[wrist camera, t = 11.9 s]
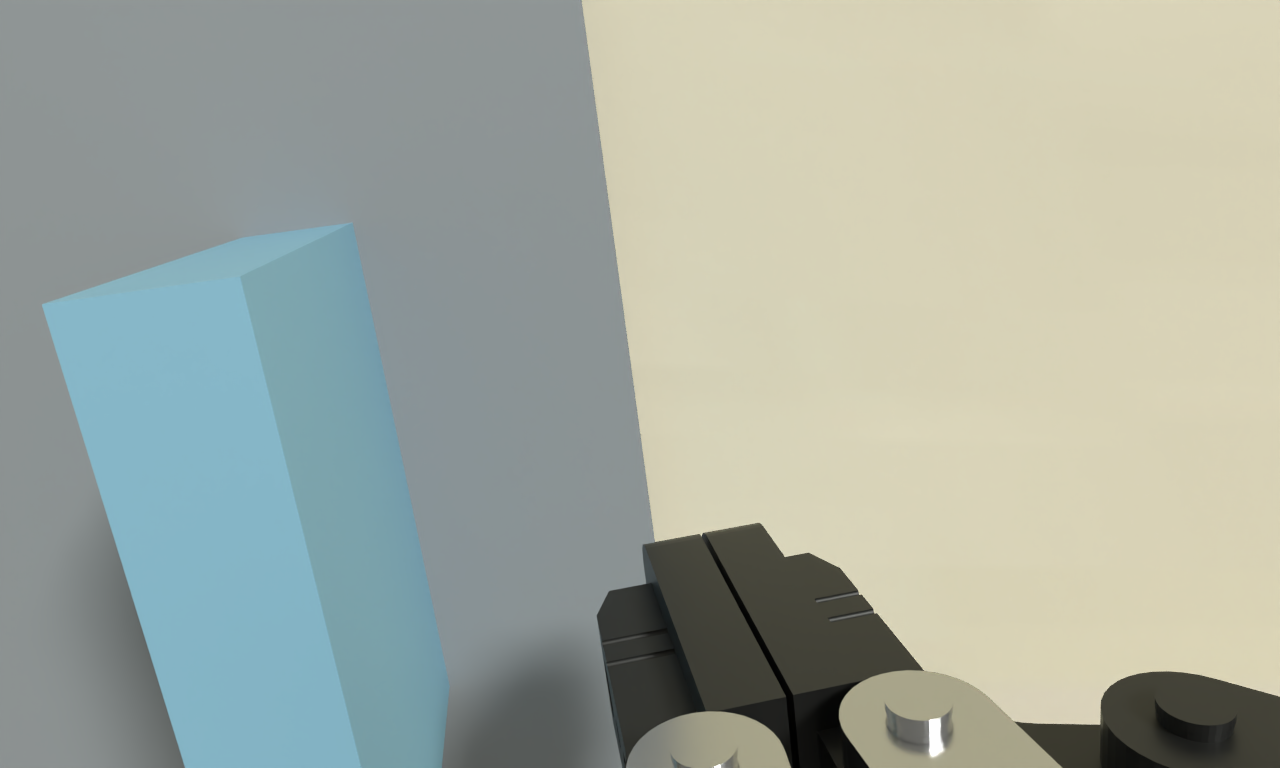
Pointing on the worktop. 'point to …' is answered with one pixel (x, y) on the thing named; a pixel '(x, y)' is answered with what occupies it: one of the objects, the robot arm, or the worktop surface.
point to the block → (261, 503)
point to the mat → (402, 314)
